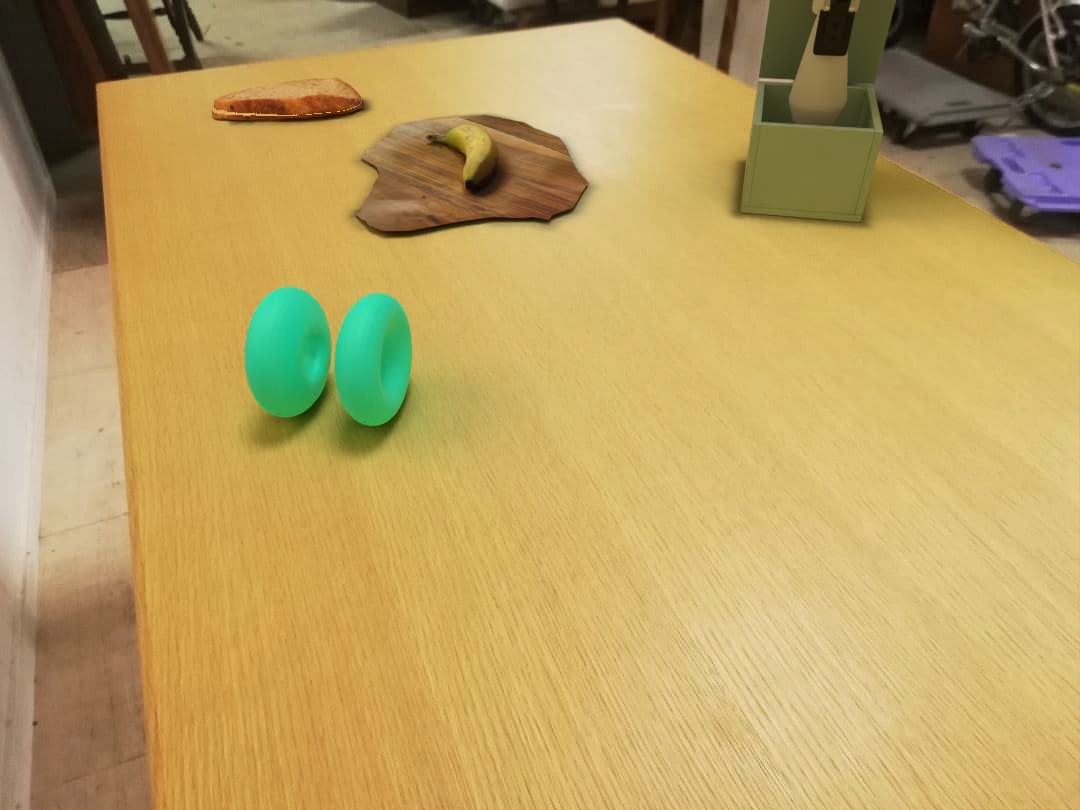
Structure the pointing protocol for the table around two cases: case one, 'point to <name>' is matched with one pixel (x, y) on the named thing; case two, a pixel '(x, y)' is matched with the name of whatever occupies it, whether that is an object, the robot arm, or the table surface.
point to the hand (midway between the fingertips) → (828, 45)
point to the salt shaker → (819, 83)
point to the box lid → (794, 26)
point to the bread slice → (291, 100)
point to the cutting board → (468, 173)
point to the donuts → (328, 355)
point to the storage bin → (810, 157)
